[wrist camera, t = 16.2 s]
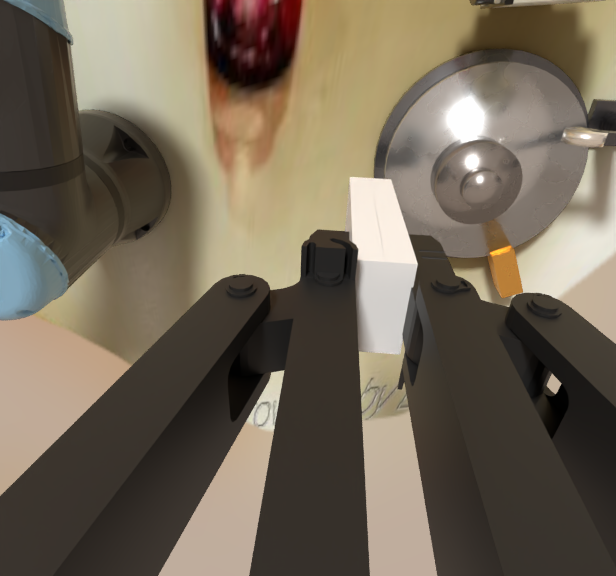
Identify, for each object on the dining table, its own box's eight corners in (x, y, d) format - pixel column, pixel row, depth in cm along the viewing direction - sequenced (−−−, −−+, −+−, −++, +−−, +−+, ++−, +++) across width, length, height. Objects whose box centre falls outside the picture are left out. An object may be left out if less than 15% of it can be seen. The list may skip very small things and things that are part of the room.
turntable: (424, 306, 55) (428, 319, 52) (357, 113, 43) (358, 118, 41) (592, 256, 50) (605, 268, 47) (566, 21, 38) (582, 20, 35)
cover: (441, 222, 47) (450, 241, 42) (421, 154, 43) (429, 167, 39) (516, 196, 45) (534, 213, 40) (502, 122, 41) (520, 132, 37)
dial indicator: (519, 137, 44) (564, 164, 35) (531, 96, 42) (582, 113, 33) (618, 142, 44) (689, 171, 35) (635, 101, 42) (715, 120, 33)
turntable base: (363, 247, 52) (364, 252, 51) (388, 43, 41) (389, 43, 40) (544, 259, 51) (548, 264, 50) (621, 53, 40) (628, 54, 39)
